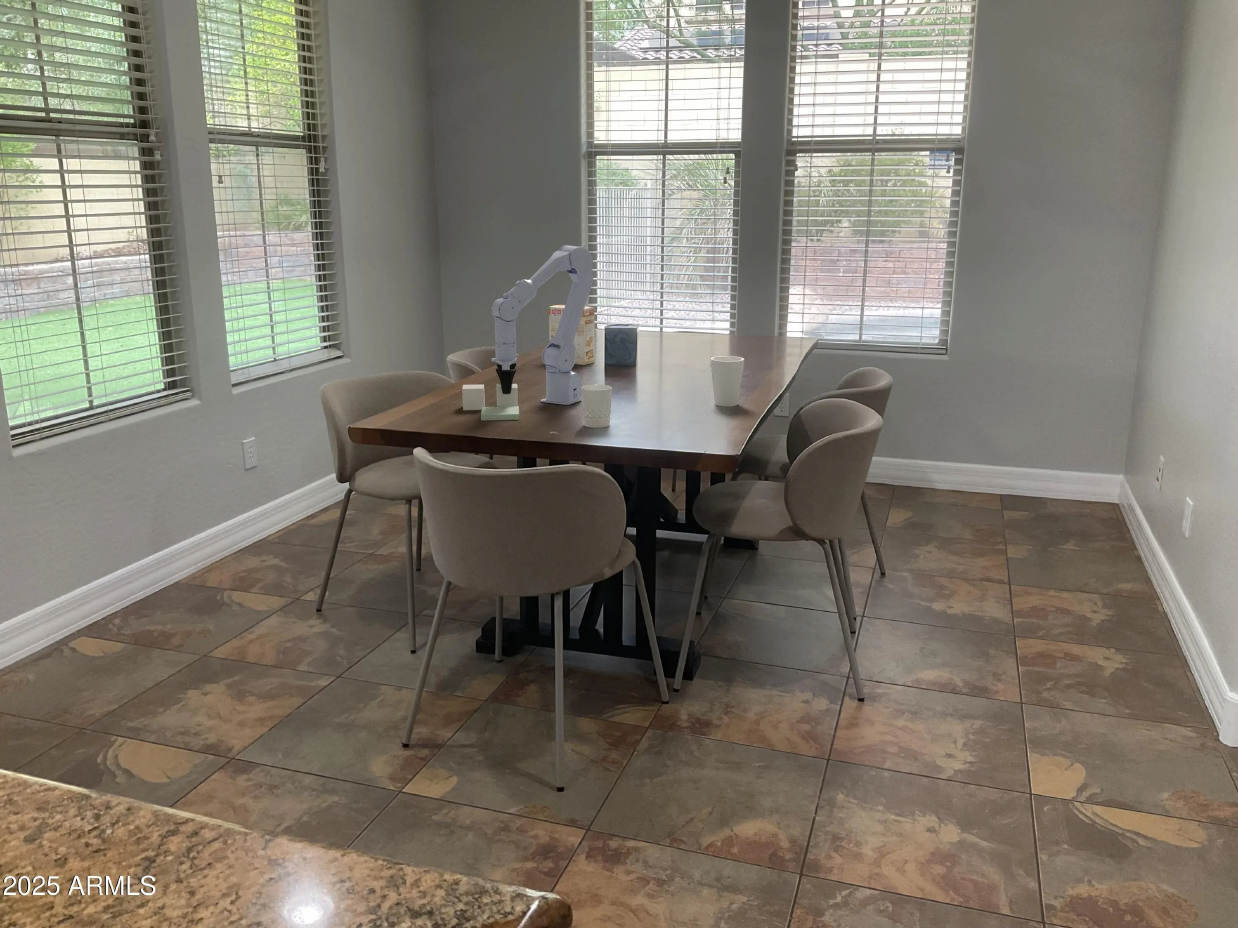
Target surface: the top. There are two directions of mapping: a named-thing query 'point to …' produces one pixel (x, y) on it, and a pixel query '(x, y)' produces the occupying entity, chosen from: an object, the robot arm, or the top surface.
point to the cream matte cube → (507, 396)
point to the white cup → (596, 405)
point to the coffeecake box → (577, 333)
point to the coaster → (500, 413)
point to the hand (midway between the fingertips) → (506, 391)
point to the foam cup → (726, 379)
